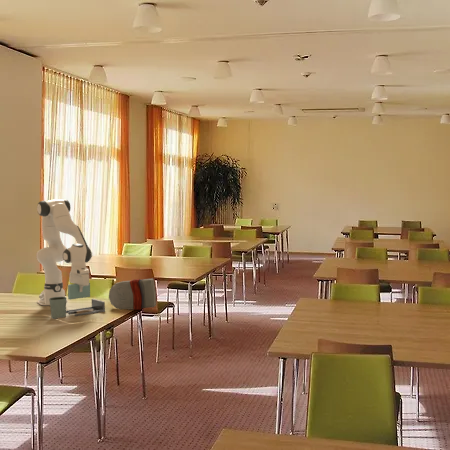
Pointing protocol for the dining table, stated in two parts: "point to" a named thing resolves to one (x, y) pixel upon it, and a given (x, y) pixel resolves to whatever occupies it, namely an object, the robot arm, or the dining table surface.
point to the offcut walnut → (84, 311)
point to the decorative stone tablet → (133, 294)
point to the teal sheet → (74, 291)
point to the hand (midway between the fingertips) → (79, 291)
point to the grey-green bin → (58, 307)
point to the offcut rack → (90, 308)
